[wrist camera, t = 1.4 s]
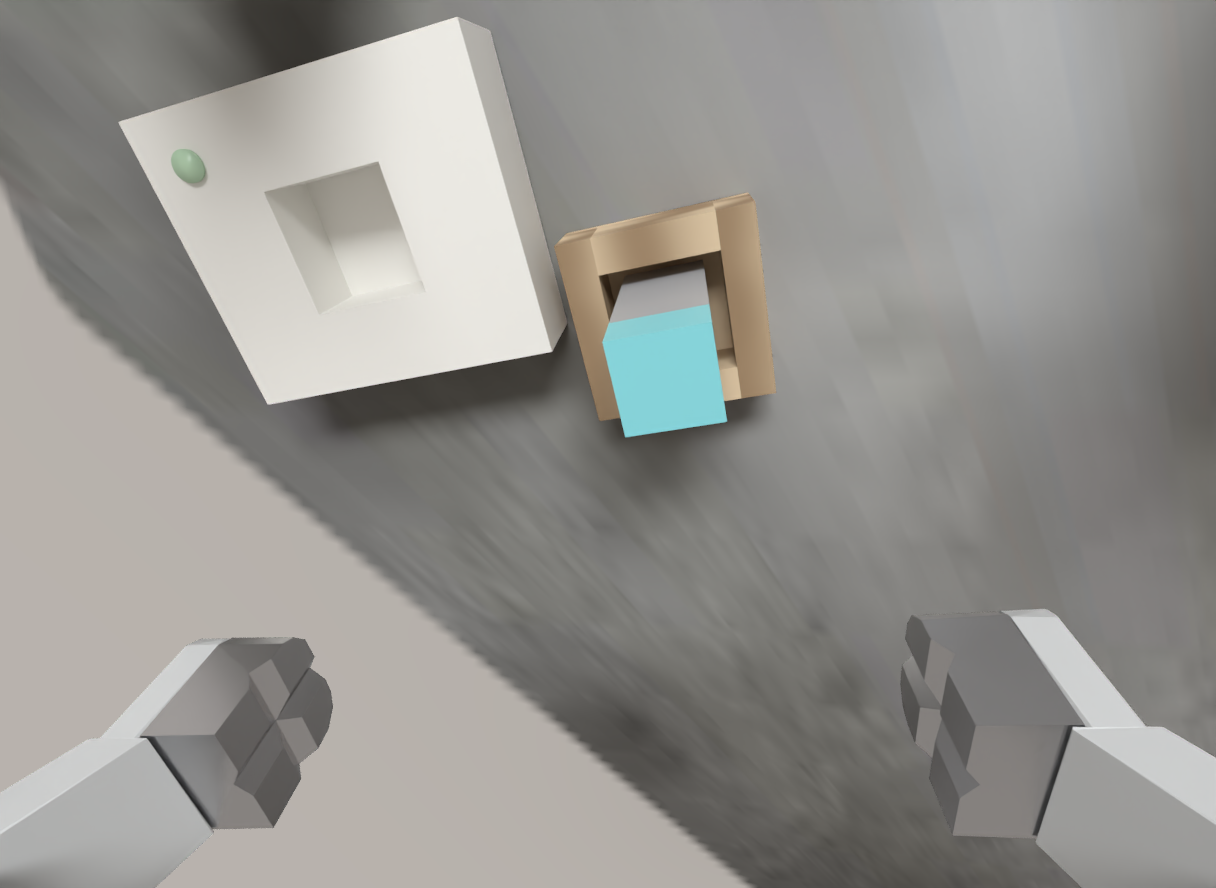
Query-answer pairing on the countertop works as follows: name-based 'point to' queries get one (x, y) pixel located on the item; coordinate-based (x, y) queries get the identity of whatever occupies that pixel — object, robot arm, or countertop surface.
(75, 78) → the countertop surface
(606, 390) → the square wooden tray
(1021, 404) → the countertop surface
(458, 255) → the port
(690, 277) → the plug
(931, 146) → the countertop surface
